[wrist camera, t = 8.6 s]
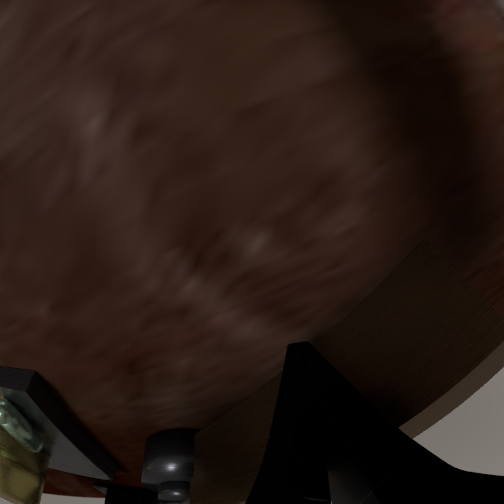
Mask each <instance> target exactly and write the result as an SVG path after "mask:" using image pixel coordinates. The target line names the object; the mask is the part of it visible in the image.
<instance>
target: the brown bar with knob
mask: <svg viewBox="0 0 504 504" xmlns="http://www.w3.org/2000/svg"><path fill="white" fill-rule="evenodd" d="M313 347H314V348H315V349H316V350H317V351H318V352H319V353H320V354H321V355H322V356H323V357H324V358H325V359H326V360H327V361H328V362H329V363H330V364H331V365H332V366H333V367H335V368H336V369H337V370H338V371H339V372H340V373H341V374H342V375H343V376H344V377H345V378H346V379H347V380H348V381H349V382H350V383H351V384H352V385H353V386H354V387H355V388H356V389H357V390H358V391H359V392H360V393H362V394H363V395H364V396H365V397H366V398H367V399H368V400H369V401H370V402H371V403H372V404H373V405H374V406H375V407H376V408H377V409H378V410H379V411H380V412H381V414H384V415H385V416H386V417H387V418H388V419H389V420H390V421H391V422H392V423H393V424H395V425H396V426H397V427H398V428H399V429H400V430H401V431H403V432H404V433H405V434H406V435H408V436H409V437H410V438H412V439H413V438H414V437H416V436H417V435H419V434H420V433H422V432H423V431H425V430H426V429H428V428H429V427H431V426H432V425H433V424H435V423H436V422H438V421H439V420H441V419H442V418H443V417H445V416H446V415H447V414H449V413H450V412H451V411H453V410H454V409H455V408H456V407H458V406H459V405H460V404H462V403H463V402H464V401H465V400H467V399H468V398H469V397H470V396H471V395H473V394H474V393H475V392H476V391H477V390H479V389H480V388H481V387H482V386H483V385H484V384H485V383H487V382H488V381H489V380H490V379H491V378H492V377H493V376H494V375H495V374H496V373H497V372H499V371H500V370H501V369H502V368H503V367H504V320H503V319H502V318H501V317H500V316H499V314H498V313H497V312H496V311H495V310H494V309H493V308H492V306H491V305H490V304H489V303H488V302H487V301H486V300H485V299H484V298H483V296H482V295H481V294H480V293H479V292H478V291H477V290H476V289H475V288H474V287H473V286H472V285H471V284H470V283H469V282H468V280H467V279H466V278H465V277H464V276H463V275H462V274H461V273H460V272H459V271H458V270H457V269H456V268H455V267H454V266H453V265H452V264H451V263H450V262H449V261H448V260H447V259H446V258H445V257H444V256H443V255H442V254H441V253H440V252H439V251H438V250H436V249H435V248H434V247H433V246H432V245H431V244H430V243H429V242H428V241H427V240H426V239H424V240H423V241H422V242H421V243H420V244H419V245H418V246H417V247H416V249H415V250H414V251H413V252H412V253H411V254H410V255H409V256H408V257H407V258H406V259H405V260H404V261H403V262H402V263H401V264H400V265H399V266H398V267H397V268H396V269H395V270H394V271H393V272H392V273H391V274H390V275H389V276H388V277H387V278H386V279H385V280H384V281H383V282H382V283H381V284H380V285H379V286H378V287H377V288H376V289H375V290H374V291H373V292H372V293H371V294H370V295H369V296H368V297H367V298H366V299H365V300H364V301H363V302H362V303H361V304H360V305H358V306H357V307H356V308H355V309H354V310H353V311H352V312H351V313H350V314H349V315H348V316H347V317H345V318H344V319H343V320H342V321H341V322H340V323H339V324H338V325H337V326H335V327H334V328H333V329H332V330H331V331H330V332H329V333H327V334H326V335H325V336H324V337H323V338H322V339H320V340H319V341H318V342H317V343H316V344H315V345H313ZM282 372H283V371H282ZM282 372H280V373H279V374H278V375H277V376H275V377H274V378H273V379H271V380H270V381H269V382H268V383H266V384H265V385H264V386H262V387H261V388H260V389H258V390H257V391H256V392H254V393H253V394H252V395H250V396H249V397H248V398H246V399H245V400H243V401H242V402H241V403H239V404H238V405H236V406H235V407H234V408H232V409H231V410H229V411H228V412H227V413H225V414H224V415H222V416H221V417H219V418H218V419H216V420H215V421H214V422H212V423H211V424H209V425H208V426H206V427H205V428H203V429H202V430H200V431H199V432H197V433H196V432H189V431H164V432H159V433H155V434H153V435H151V436H149V437H148V438H147V440H146V445H145V453H144V461H143V470H142V479H141V483H142V484H143V485H144V486H145V487H146V488H148V489H150V490H152V491H154V492H157V493H158V501H159V502H160V503H162V504H245V502H246V500H247V498H248V496H249V493H250V491H251V489H252V487H253V484H254V482H255V480H256V477H257V475H258V472H259V469H260V467H261V464H262V460H263V457H264V453H265V450H266V445H267V441H268V438H269V433H270V428H271V424H272V419H273V415H274V410H275V406H276V401H277V396H278V391H279V386H280V382H281V377H282Z"/></svg>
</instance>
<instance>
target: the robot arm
mask: <svg viewBox="0 0 504 504" xmlns="http://www.w3.org/2000/svg"><path fill="white" fill-rule="evenodd" d="M94 487H95V488H96V489H98V490H99V491H101V492H102V493H103V494H105V495H106V497H105V504H162V503H160V502H159V501H158V494H157V493H156V492H154V491H152V490H145V489H136V488H127V487H120V486H113V485H107V484H101V483H94ZM331 501H332V504H504V476H498V475H489V474H482V473H475V472H468V471H464V470H460V469H458V468H455V467H453V466H451V465H449V464H448V463H446V462H445V461H443V460H442V459H440V458H439V457H437V456H436V455H434V454H433V453H431V452H430V451H429V450H427V449H426V448H424V447H423V446H421V445H420V444H419V443H417V442H416V441H414V440H413V439H412V438H410V437H409V436H408V435H406V434H405V433H404V432H403V431H401V430H400V429H399V428H398V427H397V426H396V425H395V424H393V423H392V422H391V421H390V420H389V419H388V418H387V417H386V416H385V415H384V414H381V412H380V411H379V410H378V409H377V408H376V407H375V406H374V405H373V404H372V403H371V402H370V401H369V400H368V399H367V398H366V397H365V396H364V395H363V394H362V393H360V392H359V391H358V390H357V389H356V388H355V387H354V386H353V385H352V384H351V383H350V382H349V381H348V380H347V379H346V378H345V377H344V376H343V375H342V374H341V373H340V372H339V371H338V370H337V369H336V368H335V367H333V366H332V365H331V364H330V363H329V362H328V361H327V360H326V359H325V358H324V357H323V356H322V355H321V354H320V353H319V352H318V351H317V350H316V349H315V348H314V347H313V346H312V345H311V344H310V343H309V342H307V341H305V342H299V343H292V344H288V346H287V351H286V356H285V361H284V366H283V372H282V377H281V382H280V386H279V391H278V396H277V401H276V406H275V410H274V415H273V419H272V424H271V428H270V433H269V438H268V441H267V445H266V450H265V453H264V457H263V460H262V464H261V467H260V469H259V472H258V475H257V477H256V480H255V482H254V484H253V487H252V489H251V491H250V493H249V496H248V498H247V500H246V502H245V504H331Z"/></svg>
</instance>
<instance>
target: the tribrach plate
mask: <svg viewBox="0 0 504 504" xmlns="http://www.w3.org/2000/svg"><path fill="white" fill-rule="evenodd" d="M48 467H49V468H53V469H57V470H61V471H65V472H69V473H73V474H78V475H83V476H88V477H93V478H99V479H105V480H111V481H114V477H115V470H116V465H115V464H114V463H113V462H112V461H111V460H110V459H109V458H108V457H107V456H106V455H105V454H104V453H103V452H102V451H101V450H100V449H99V448H98V447H97V446H96V445H95V444H94V443H93V441H92V440H91V439H90V438H89V437H88V436H87V435H86V434H85V433H84V432H83V431H82V429H81V428H80V427H79V426H78V425H77V424H76V423H75V422H74V420H73V419H72V418H71V417H70V416H69V414H68V413H67V412H66V411H65V410H64V408H63V407H62V406H61V405H60V403H59V402H58V401H57V400H56V398H55V397H54V396H53V395H52V393H51V392H50V391H49V389H48V388H47V387H46V385H45V384H44V383H43V381H42V380H41V378H40V377H39V376H38V374H37V373H36V371H32V370H24V369H16V368H9V367H2V366H0V497H2V498H4V499H6V500H8V501H10V502H12V503H14V504H40V500H41V496H42V491H43V487H44V482H45V478H46V474H47V470H48Z"/></svg>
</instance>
